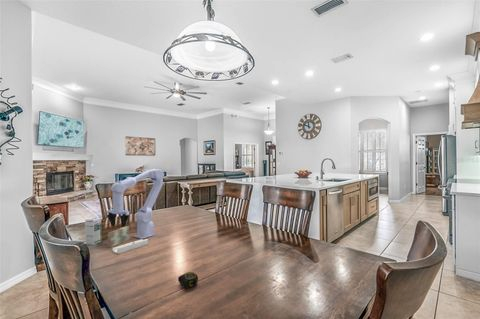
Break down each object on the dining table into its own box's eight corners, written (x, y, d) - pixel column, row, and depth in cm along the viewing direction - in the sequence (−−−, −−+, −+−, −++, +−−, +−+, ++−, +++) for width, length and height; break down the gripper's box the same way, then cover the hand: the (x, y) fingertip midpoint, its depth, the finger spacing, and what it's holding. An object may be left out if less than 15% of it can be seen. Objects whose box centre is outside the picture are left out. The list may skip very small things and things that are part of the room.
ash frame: (126, 238, 146) (126, 226, 146) (129, 239, 145) (129, 226, 145) (107, 247, 132) (107, 232, 132) (111, 247, 132) (111, 233, 132)
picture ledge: (141, 242, 140) (141, 236, 140) (148, 244, 136) (148, 238, 136) (111, 251, 126) (111, 244, 126) (118, 254, 122) (118, 247, 122)
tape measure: (177, 283, 93) (177, 274, 93) (193, 278, 97) (193, 269, 97) (183, 291, 88) (183, 282, 88) (200, 286, 92) (200, 276, 92)
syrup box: (93, 245, 135) (93, 219, 135) (85, 244, 136) (85, 219, 136) (101, 241, 141) (101, 217, 141) (93, 240, 142) (93, 216, 142)
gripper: (102, 204, 137) (102, 227, 137) (122, 205, 132) (123, 229, 132) (112, 201, 143) (112, 224, 143) (132, 203, 139) (132, 225, 139)
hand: (118, 226), depth 138 cm, fingers open, 7 cm apart
